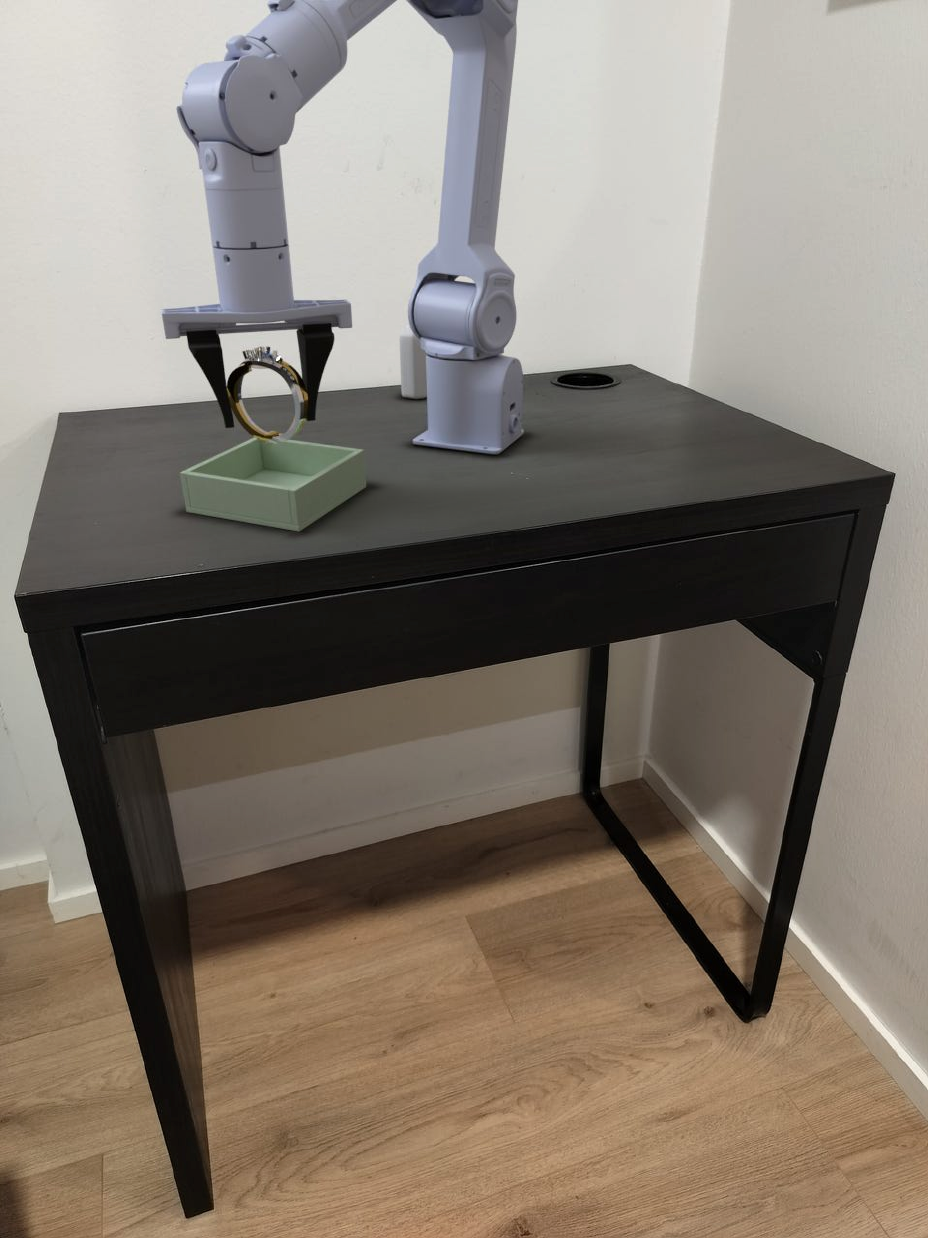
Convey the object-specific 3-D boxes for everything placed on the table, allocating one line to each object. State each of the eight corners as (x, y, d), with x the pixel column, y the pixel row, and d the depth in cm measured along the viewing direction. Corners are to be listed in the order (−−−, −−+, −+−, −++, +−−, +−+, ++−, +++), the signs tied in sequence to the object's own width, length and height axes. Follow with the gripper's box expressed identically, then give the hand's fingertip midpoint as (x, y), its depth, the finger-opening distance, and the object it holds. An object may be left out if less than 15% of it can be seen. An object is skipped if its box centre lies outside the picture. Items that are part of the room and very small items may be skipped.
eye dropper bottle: (392, 393, 109) (387, 290, 103) (433, 387, 111) (430, 286, 105) (408, 401, 105) (404, 295, 100) (449, 395, 108) (448, 291, 102)
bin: (366, 486, 80) (364, 449, 78) (299, 532, 71) (294, 490, 69) (262, 471, 84) (258, 435, 82) (186, 512, 74) (179, 472, 73)
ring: (227, 444, 75) (214, 347, 71) (251, 434, 77) (239, 340, 73) (295, 455, 72) (285, 355, 68) (317, 444, 75) (309, 347, 71)
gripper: (336, 237, 72) (347, 401, 79) (151, 243, 69) (179, 415, 75) (352, 246, 66) (362, 423, 73) (151, 253, 63) (181, 439, 69)
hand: (270, 421), depth 74 cm, fingers closed on ring, 6 cm apart
